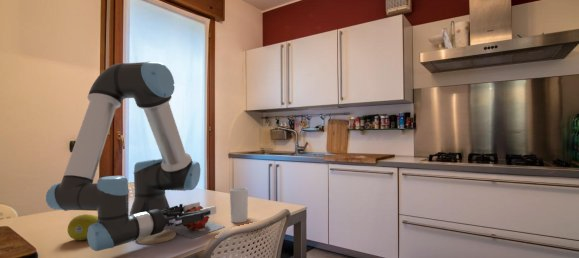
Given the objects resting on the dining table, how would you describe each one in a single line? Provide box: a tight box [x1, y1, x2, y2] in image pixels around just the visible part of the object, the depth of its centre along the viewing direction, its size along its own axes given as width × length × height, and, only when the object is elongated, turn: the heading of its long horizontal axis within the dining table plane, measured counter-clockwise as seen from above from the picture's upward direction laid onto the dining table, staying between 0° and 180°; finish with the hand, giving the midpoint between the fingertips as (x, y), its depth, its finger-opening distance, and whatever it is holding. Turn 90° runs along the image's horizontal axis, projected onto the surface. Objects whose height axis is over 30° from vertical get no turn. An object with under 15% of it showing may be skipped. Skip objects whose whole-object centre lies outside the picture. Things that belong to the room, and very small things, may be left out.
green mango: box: [67, 213, 98, 241], centre depth 98 cm, size 11×8×8 cm
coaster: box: [135, 229, 177, 245], centre depth 99 cm, size 12×12×1 cm
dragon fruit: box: [182, 205, 211, 231], centre depth 107 cm, size 8×8×12 cm
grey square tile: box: [169, 221, 226, 239], centre depth 107 cm, size 14×14×1 cm
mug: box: [229, 187, 249, 224], centre depth 118 cm, size 10×7×12 cm, turn 161°
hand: (207, 207), depth 111 cm, fingers open, 9 cm apart
